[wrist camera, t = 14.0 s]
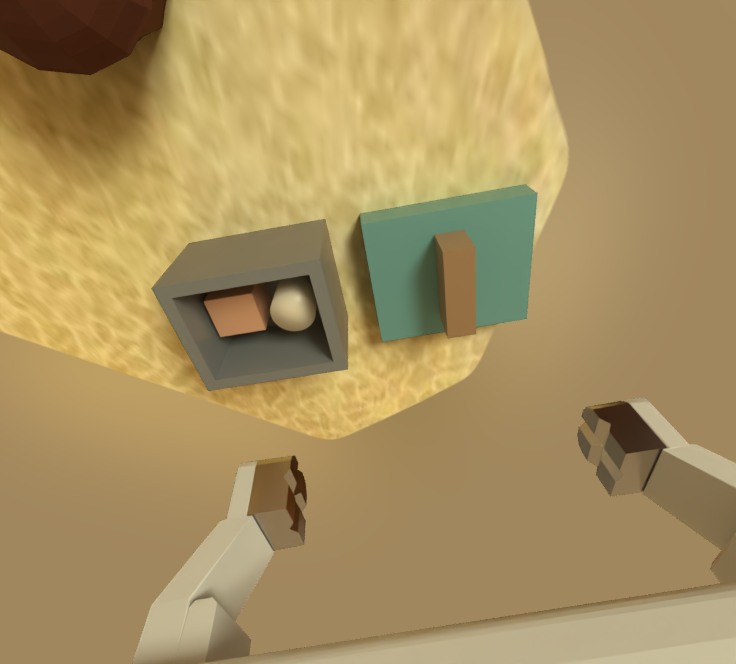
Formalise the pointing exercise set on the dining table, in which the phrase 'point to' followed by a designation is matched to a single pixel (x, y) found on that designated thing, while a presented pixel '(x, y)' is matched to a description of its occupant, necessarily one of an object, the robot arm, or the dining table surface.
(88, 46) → the muffin
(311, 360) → the storage box
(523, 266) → the lid
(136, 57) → the dining table surface
